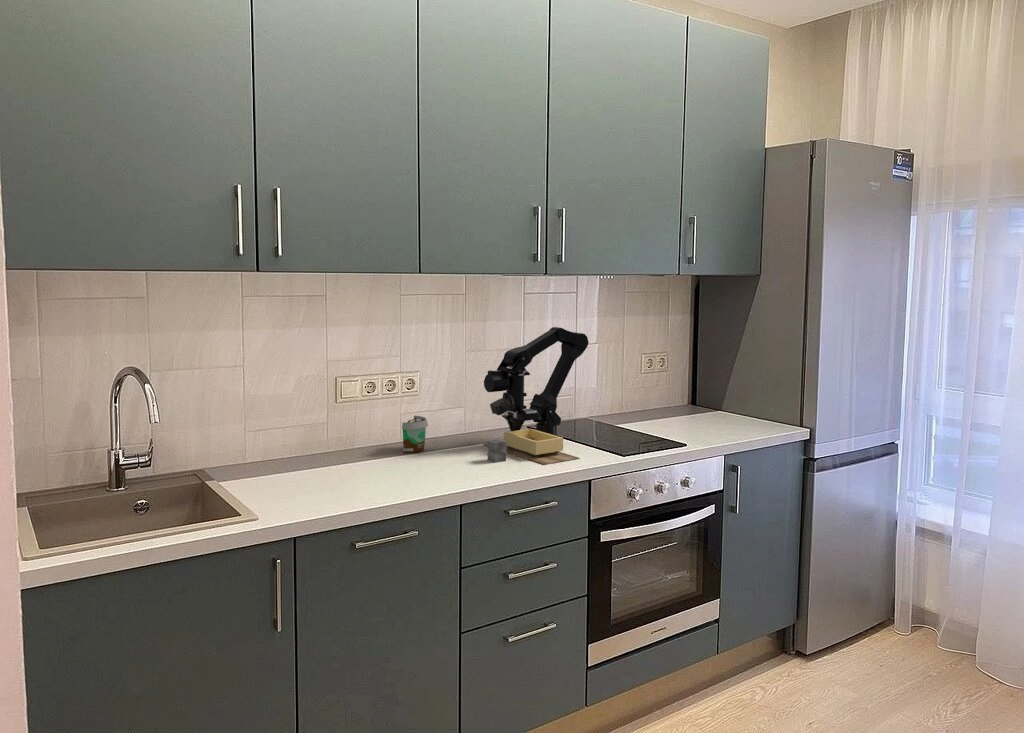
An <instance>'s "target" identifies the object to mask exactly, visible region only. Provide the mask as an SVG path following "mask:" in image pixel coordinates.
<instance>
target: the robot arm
mask: <svg viewBox="0 0 1024 733" xmlns="http://www.w3.org/2000/svg"><path fill="white" fill-rule="evenodd" d="M557 342H559V343H560V344H561V346H560V352H561V354H560V356H559V359H558V360H557V363H556V364H555V366H554V369H553V371H552V372H551V375H550V377H549V379H548V381H547V383H546V385H545V386H544V387H545V388H544V389H543V391H541V393H540V394H538V393H534V395H533V396H532V400H531V402H530V403H529V408H527V405H526V404H525V401H524V400H525V397H527V396H528V394H527V392H525V376H530V375H531V372H529V371H528V370H527V369H526V367H528V365H529V364H531V363H532V360H533V359H534V357H536V356H537V355H539V354H541V353H542V352H543V351H545V350H547V349H548V348H550V347H551V346H553V345H554V344H556V343H557ZM589 342H590V341H589V339H588V335H587V334H585V333H583V332H575V331H569V330H568V329H566V328H563V327H560V326H559V327H558V326H553V327H550V328H549V329H548V330H547V331H546V332H544V333H543V334H541V335H540V336H538V337H536V338H535V339H532V340H531V341H529V342H528V343H527V344H524V345H523V346H518V347H514V348H512V349H511V348H510V349H509V350H507V351H505V353H504V354H503V355H504V356H503V358H502V360H501V362H500V364H499V365H498V367H497V369H496V370H487V373H486V375H485V377H484V380H483V386H484V390H485V391H486V392H487V393H496V392H498V393H499V392H503V393H502V397H501V398H499V399H496V400H495V401H493V402H491V403H490V404H489V406H490V407H489V408H490V410H491V413H492V415H497V416H501V417H502V418H503V419H505V420H506V422H507V424H508V427H509V430H510V431H517V430H522V427H523V425H524V424H525V422H527V421H532V422H533V423H536V424H535V426H536V427H535V429H534V430H537V431H541V432H544V433H548V434H551V435H555V436H558V435H557V434H558V433H557V428H558V426H560V425H561V421H562V418H561V417H560V415H558V413H557V412H556V411H557V409H558V401H557V400H558V399H557V398H558V396H559V394H560V392H561V389H562V388H563V386H564V383H565V382H566V379H567V377H568V376H569V375H568V374H570V371H571V369H572V367H573V365H574V362H575V361H576V360H577V359H578V358H579V357H581V356H582V355H583V354H584V353H585V351H586V349H587V348H588V345H589ZM504 391H505V392H504ZM510 431H509V432H510Z"/></svg>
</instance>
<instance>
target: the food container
mask: <svg viewBox="0 0 1024 733" xmlns="http://www.w3.org/2000/svg"><path fill="white" fill-rule="evenodd" d="M428 426H429V424H428V420H427V418H426V417H424V416H420V415H413V419H409V420H408V421H407V422H402V424H401V430H402V445H403V455H405V454H407V455H410V454H411V455H412V454H421V453H423V452H425V444H426V430H427V427H428Z"/></svg>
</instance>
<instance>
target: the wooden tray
mask: <svg viewBox="0 0 1024 733" xmlns="http://www.w3.org/2000/svg"><path fill="white" fill-rule="evenodd" d="M503 441H506V445H507V447H508V449H513V448H516V449H519V450H522V451H525V452H528V453H530V455H531V456H532V457H535V456H537V455H539V454H545V453H551V452H553V453H559V452H563V451H564V437H562V436H558V435H556V436H555V435H551V434H548V433H544V432H541V431H537V430H535V429H533V428H525V429H520V430H517V431H504V432H503Z"/></svg>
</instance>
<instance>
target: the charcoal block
mask: <svg viewBox="0 0 1024 733" xmlns="http://www.w3.org/2000/svg"><path fill="white" fill-rule="evenodd" d="M487 443H488V446H487V461H489V462H491V463H495V464H496V463H497V464H498V463H503V462H506V461H507V453H506V441H504V439H503V440H502V439H499V438H497V439H490V440H487Z"/></svg>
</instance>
